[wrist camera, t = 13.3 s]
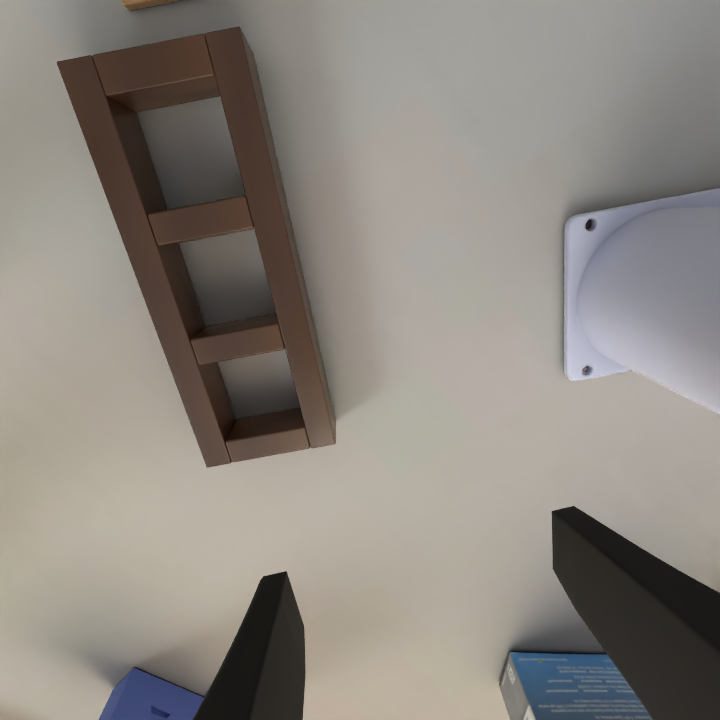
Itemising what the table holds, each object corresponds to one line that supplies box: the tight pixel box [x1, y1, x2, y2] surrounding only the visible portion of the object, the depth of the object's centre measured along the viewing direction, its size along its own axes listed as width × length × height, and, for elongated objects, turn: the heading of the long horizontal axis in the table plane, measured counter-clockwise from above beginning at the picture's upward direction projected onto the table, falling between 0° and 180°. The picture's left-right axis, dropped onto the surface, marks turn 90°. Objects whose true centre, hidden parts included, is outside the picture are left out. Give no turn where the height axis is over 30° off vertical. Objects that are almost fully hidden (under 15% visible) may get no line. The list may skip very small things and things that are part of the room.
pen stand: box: [57, 27, 336, 467], centre depth 17 cm, size 6×16×2 cm, turn 10°
